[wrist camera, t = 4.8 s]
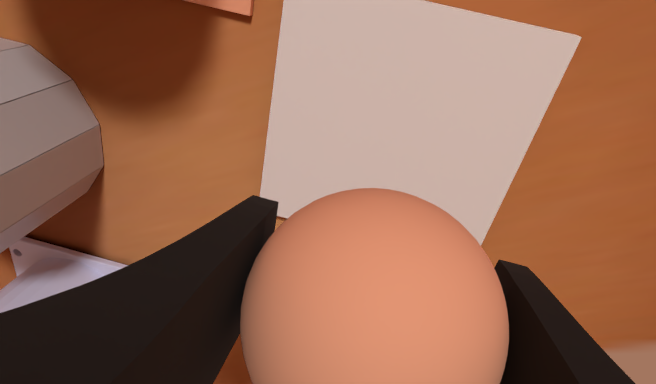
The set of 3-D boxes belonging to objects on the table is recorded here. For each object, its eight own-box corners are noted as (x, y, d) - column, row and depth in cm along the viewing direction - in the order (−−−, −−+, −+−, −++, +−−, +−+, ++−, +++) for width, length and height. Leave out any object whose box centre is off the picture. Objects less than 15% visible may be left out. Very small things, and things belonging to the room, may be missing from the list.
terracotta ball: (444, 335, 11) (464, 562, 7) (270, 287, 12) (187, 477, 7) (521, 180, 9) (626, 386, 4) (297, 124, 9) (194, 268, 5)
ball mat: (469, 259, 19) (470, 266, 18) (261, 205, 19) (257, 210, 19) (576, 35, 14) (581, 37, 13) (291, -30, 14) (287, -30, 14)
